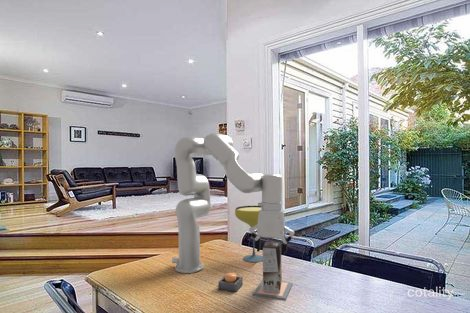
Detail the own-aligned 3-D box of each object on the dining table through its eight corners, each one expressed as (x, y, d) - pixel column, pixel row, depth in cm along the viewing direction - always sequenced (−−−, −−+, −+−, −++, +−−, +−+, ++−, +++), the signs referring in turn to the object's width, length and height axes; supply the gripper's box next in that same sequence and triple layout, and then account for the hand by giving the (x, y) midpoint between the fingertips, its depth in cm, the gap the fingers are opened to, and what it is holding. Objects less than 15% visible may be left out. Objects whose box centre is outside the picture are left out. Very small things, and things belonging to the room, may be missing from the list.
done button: (223, 283, 114) (223, 276, 114) (227, 279, 118) (227, 272, 118) (234, 285, 112) (233, 277, 112) (237, 280, 116) (237, 273, 116)
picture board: (252, 295, 108) (252, 293, 108) (262, 280, 121) (262, 278, 121) (285, 300, 104) (285, 298, 104) (292, 284, 117) (292, 282, 117)
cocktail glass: (231, 255, 154) (230, 206, 155) (263, 251, 160) (263, 204, 160) (242, 267, 137) (241, 212, 137) (278, 262, 142) (277, 209, 143)
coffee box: (280, 293, 107) (279, 248, 108) (262, 291, 109) (262, 247, 109) (282, 283, 116) (281, 241, 116) (265, 282, 118) (265, 240, 118)
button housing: (218, 289, 113) (218, 281, 113) (225, 282, 120) (225, 274, 120) (236, 292, 110) (236, 284, 110) (242, 284, 117) (242, 277, 117)
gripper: (246, 206, 112) (246, 252, 112) (293, 210, 106) (292, 258, 106) (252, 203, 119) (252, 246, 119) (296, 206, 114) (295, 251, 114)
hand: (271, 252), depth 113 cm, fingers open, 9 cm apart
